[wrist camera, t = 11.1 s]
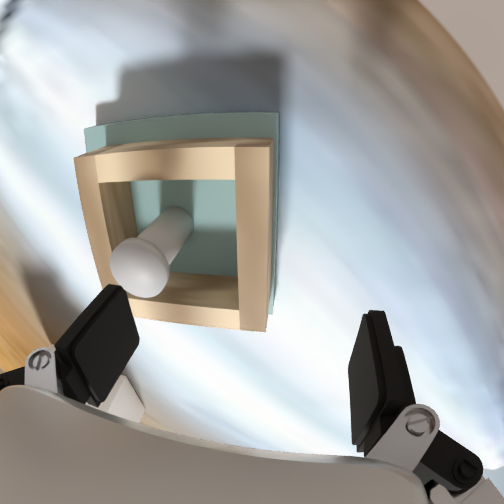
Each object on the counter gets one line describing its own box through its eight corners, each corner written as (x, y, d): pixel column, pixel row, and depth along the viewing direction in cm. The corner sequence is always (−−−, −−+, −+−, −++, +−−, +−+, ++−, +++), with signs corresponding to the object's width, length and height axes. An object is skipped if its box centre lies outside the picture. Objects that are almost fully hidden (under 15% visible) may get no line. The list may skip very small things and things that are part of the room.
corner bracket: (50, 343, 32) (5, 408, 22) (115, 357, 30) (69, 441, 20) (83, 393, 37) (51, 453, 27) (145, 409, 35) (116, 481, 25)
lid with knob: (278, 112, 17) (270, 119, 10) (273, 302, 24) (264, 378, 17) (95, 125, 18) (21, 147, 12) (124, 288, 25) (81, 346, 18)
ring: (273, 138, 16) (269, 147, 13) (270, 297, 22) (265, 331, 18) (106, 145, 18) (73, 157, 14) (131, 285, 23) (110, 312, 20)
